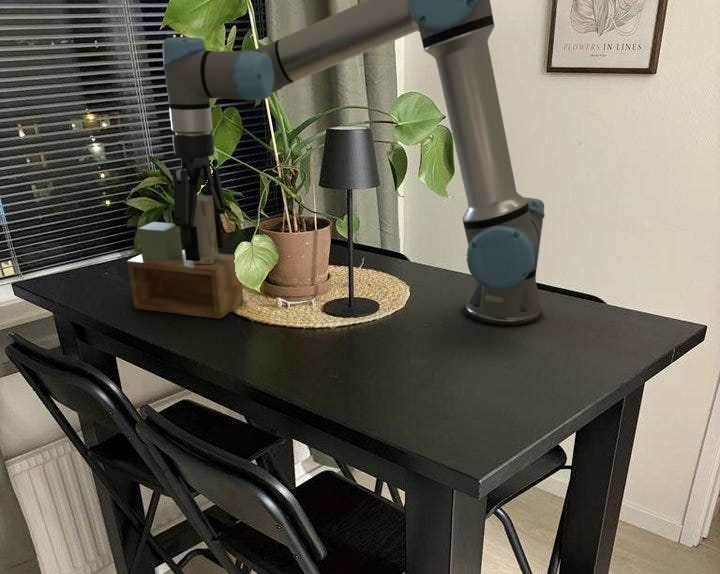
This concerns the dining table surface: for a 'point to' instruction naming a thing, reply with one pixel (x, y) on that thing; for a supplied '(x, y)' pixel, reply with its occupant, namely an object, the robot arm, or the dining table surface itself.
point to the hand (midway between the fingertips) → (205, 253)
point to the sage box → (160, 241)
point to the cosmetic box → (206, 229)
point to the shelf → (186, 286)
